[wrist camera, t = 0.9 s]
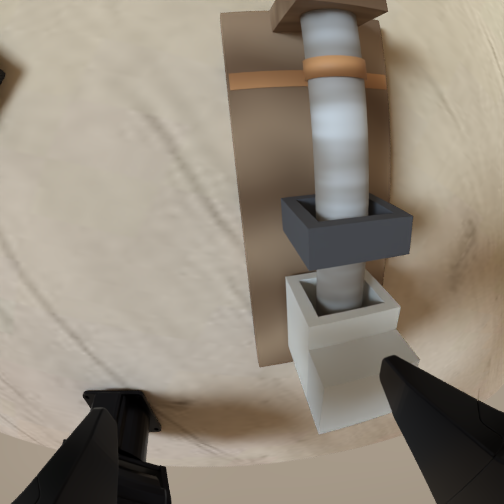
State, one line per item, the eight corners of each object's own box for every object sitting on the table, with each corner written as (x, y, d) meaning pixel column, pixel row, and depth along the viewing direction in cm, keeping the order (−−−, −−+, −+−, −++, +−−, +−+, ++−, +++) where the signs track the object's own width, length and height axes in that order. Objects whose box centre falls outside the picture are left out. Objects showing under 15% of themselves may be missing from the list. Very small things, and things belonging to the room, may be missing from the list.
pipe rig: (368, 336, 25) (401, 385, 19) (257, 359, 24) (271, 420, 19) (371, 24, 15) (427, -1, 9) (220, 18, 14) (225, -28, 8)
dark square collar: (363, 220, 19) (409, 253, 14) (282, 230, 18) (309, 271, 14) (364, 189, 18) (413, 216, 13) (280, 197, 18) (308, 228, 13)
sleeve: (354, 332, 23) (401, 408, 15) (288, 345, 22) (318, 434, 15) (361, 264, 20) (427, 336, 13) (285, 276, 20) (326, 365, 12)
